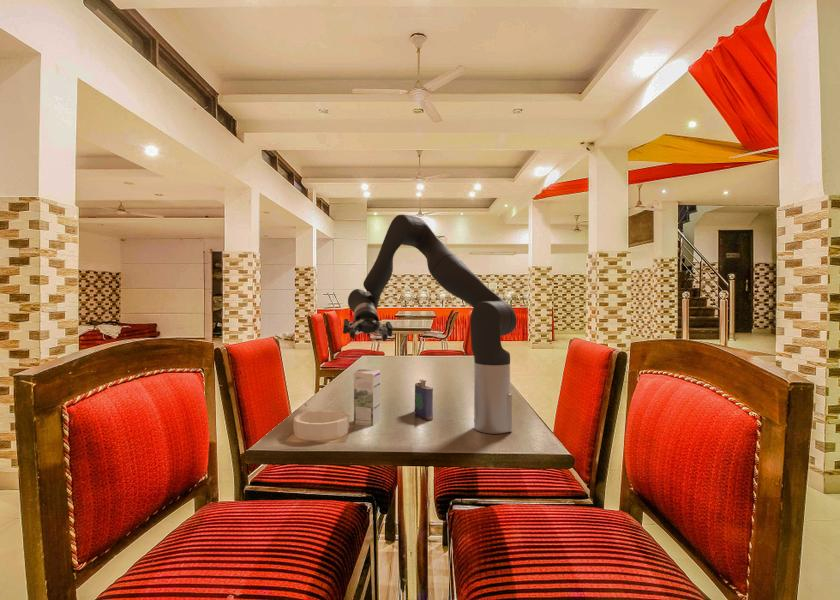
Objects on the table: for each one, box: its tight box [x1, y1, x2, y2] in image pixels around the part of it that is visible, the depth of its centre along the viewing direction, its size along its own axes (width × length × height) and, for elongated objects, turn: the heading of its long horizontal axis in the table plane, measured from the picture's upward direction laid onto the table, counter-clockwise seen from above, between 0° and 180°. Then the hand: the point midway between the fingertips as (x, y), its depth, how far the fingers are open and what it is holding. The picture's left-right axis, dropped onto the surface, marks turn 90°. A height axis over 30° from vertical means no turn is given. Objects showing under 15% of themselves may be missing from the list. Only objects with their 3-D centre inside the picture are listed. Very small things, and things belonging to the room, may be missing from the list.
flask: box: [413, 378, 434, 421], centre depth 128 cm, size 9×3×11 cm, turn 25°
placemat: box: [284, 424, 355, 443], centre depth 110 cm, size 14×14×1 cm
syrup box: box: [353, 369, 381, 427], centre depth 120 cm, size 6×6×14 cm
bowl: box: [293, 409, 350, 441], centre depth 110 cm, size 13×13×4 cm
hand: (369, 336), depth 124 cm, fingers open, 8 cm apart
